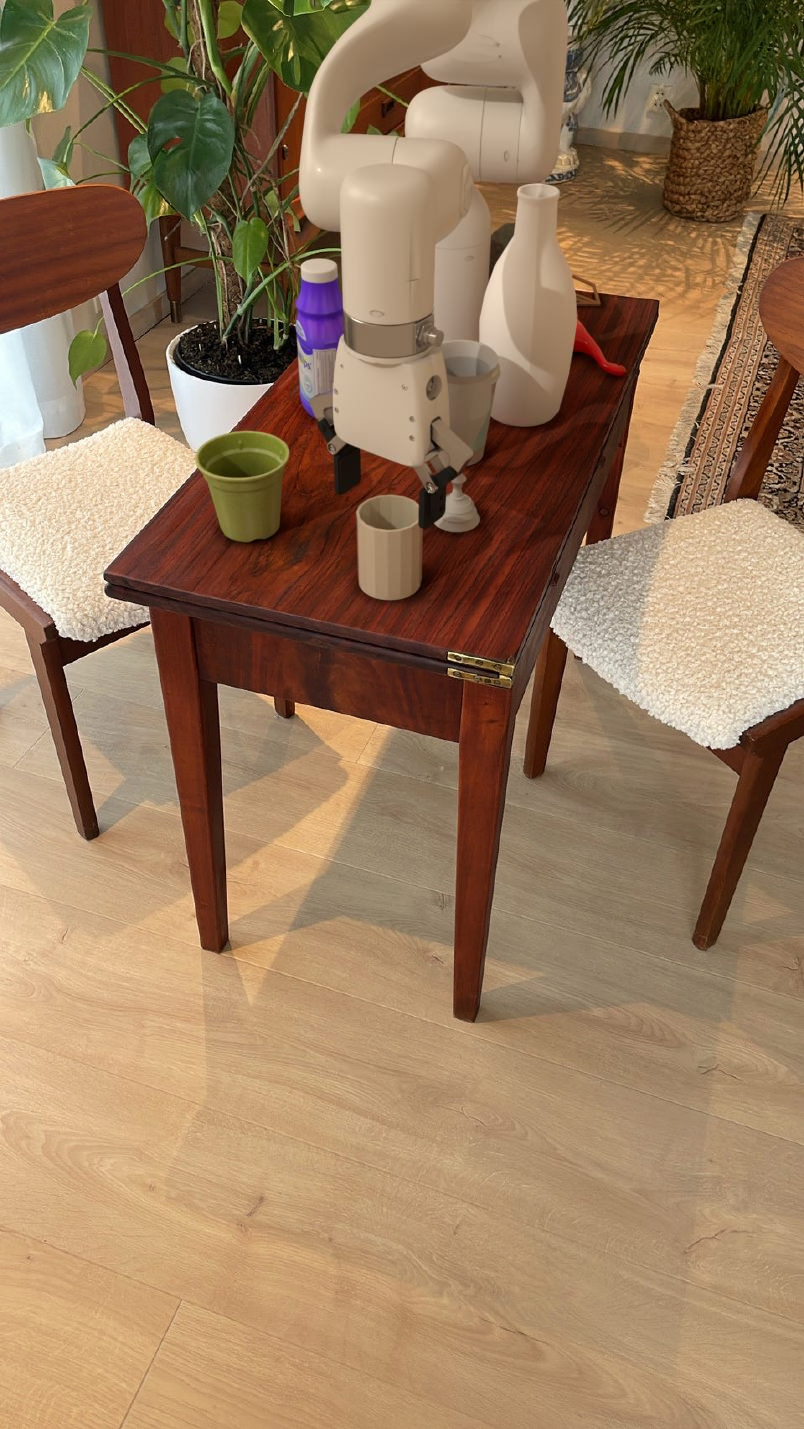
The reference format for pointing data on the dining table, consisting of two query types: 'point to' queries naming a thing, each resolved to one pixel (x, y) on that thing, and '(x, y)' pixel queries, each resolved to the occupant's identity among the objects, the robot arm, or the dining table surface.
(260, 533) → the plant pot
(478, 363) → the chalice
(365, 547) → the paper cup
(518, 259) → the bottle
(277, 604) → the dining table surface
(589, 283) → the emblem
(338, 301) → the bottle
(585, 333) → the dinosaur
